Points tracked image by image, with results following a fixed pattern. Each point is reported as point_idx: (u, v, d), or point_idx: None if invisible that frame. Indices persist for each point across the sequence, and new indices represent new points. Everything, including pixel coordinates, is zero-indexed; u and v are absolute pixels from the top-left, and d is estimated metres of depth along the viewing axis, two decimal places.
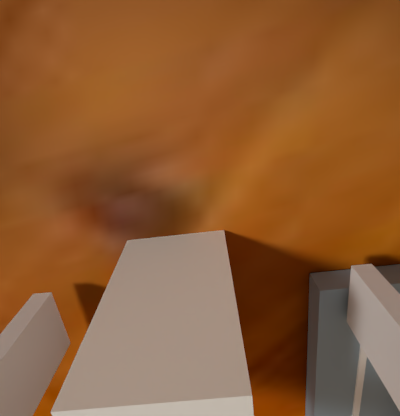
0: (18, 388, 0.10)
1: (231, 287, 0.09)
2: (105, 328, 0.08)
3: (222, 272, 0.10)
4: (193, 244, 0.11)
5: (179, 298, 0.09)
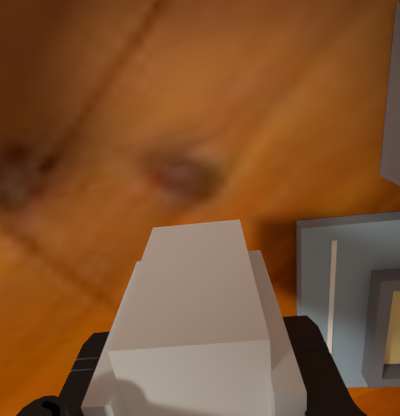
0: None
1: (248, 264, 0.10)
2: (143, 294, 0.09)
3: (240, 252, 0.11)
4: (212, 231, 0.13)
5: (205, 272, 0.10)
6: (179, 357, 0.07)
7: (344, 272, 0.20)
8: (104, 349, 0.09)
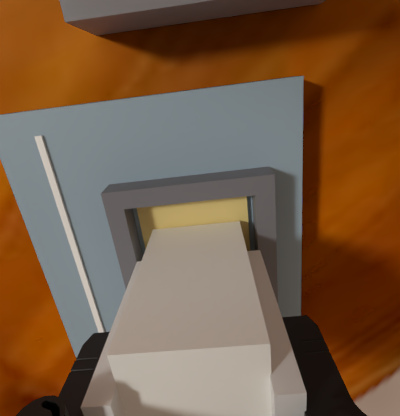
0: None
1: (249, 266, 0.10)
2: (143, 297, 0.09)
3: (240, 255, 0.11)
4: (212, 233, 0.13)
5: (204, 275, 0.10)
6: (180, 361, 0.07)
7: (72, 188, 0.14)
8: (104, 349, 0.09)
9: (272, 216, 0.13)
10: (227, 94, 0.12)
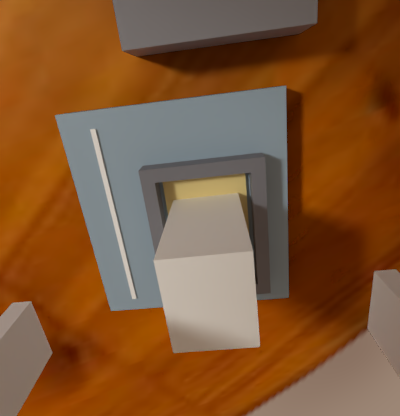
0: None
1: (243, 217, 0.15)
2: (171, 235, 0.14)
3: (237, 211, 0.16)
4: (218, 200, 0.18)
5: (212, 222, 0.15)
6: (198, 264, 0.12)
7: (115, 168, 0.18)
8: None
9: (264, 188, 0.17)
10: (231, 99, 0.17)
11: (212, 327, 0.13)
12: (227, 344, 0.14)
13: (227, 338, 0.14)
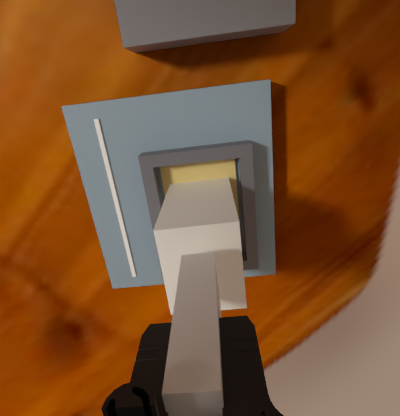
0: None
1: (231, 196, 0.17)
2: (168, 211, 0.16)
3: (227, 191, 0.18)
4: (210, 183, 0.19)
5: (205, 201, 0.17)
6: (191, 233, 0.14)
7: (116, 155, 0.20)
8: (170, 338, 0.09)
9: (251, 172, 0.19)
10: (221, 91, 0.18)
11: None
12: None
13: None
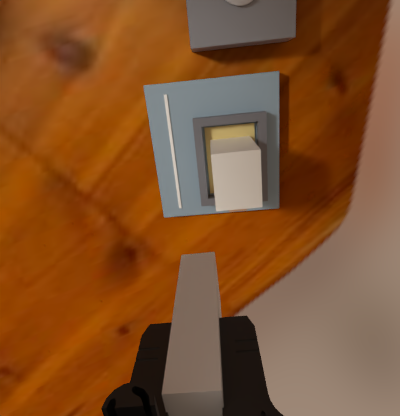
0: None
1: (254, 142, 0.27)
2: (216, 148, 0.26)
3: (250, 140, 0.28)
4: (238, 138, 0.30)
5: (237, 144, 0.27)
6: (232, 156, 0.24)
7: (176, 119, 0.30)
8: (171, 338, 0.09)
9: (265, 131, 0.29)
10: (247, 78, 0.29)
11: (237, 194, 0.25)
12: (245, 205, 0.26)
13: (245, 201, 0.26)
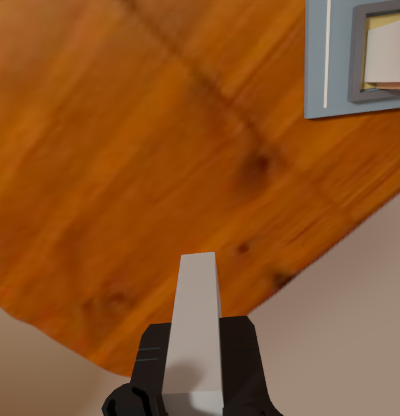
0: None
1: None
2: None
3: None
4: None
5: None
6: None
7: (336, 10, 0.31)
8: (170, 338, 0.09)
9: None
10: None
11: None
12: None
13: None
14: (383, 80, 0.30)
